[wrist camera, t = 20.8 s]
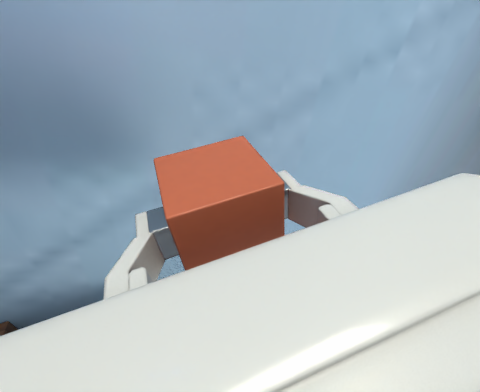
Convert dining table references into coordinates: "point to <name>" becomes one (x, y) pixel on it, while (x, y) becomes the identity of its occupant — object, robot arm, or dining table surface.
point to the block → (219, 200)
